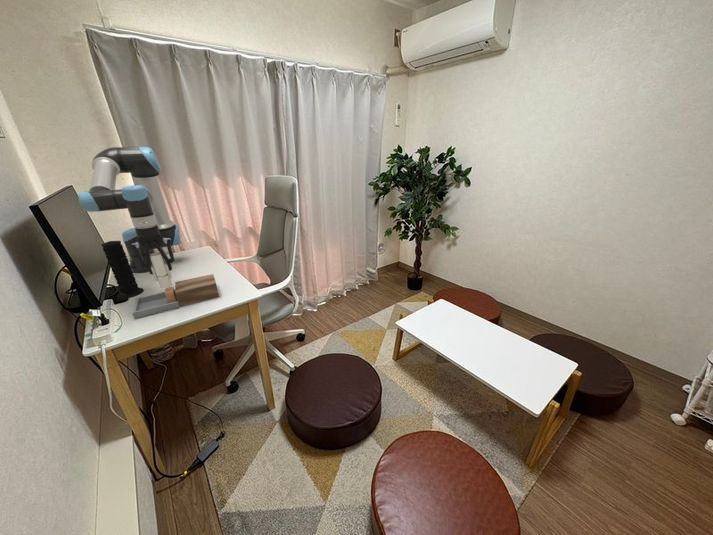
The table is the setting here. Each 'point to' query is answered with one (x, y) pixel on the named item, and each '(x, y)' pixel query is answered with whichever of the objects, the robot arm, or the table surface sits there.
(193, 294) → the walnut ledge
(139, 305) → the box
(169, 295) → the terracotta tile
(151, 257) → the tube
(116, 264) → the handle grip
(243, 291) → the table surface
